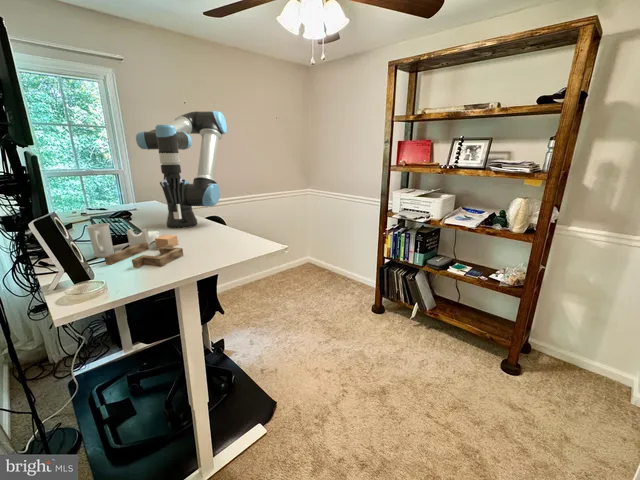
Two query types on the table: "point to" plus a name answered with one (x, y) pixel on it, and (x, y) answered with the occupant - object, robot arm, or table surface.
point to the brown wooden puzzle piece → (166, 251)
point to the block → (166, 240)
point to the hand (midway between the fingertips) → (177, 218)
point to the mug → (101, 239)
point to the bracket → (141, 237)
